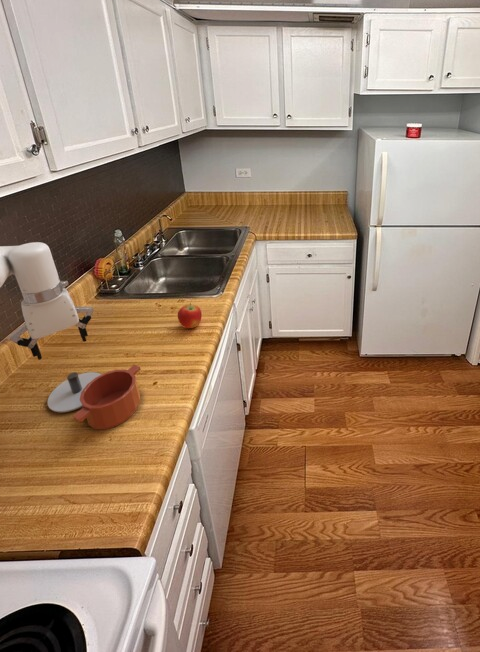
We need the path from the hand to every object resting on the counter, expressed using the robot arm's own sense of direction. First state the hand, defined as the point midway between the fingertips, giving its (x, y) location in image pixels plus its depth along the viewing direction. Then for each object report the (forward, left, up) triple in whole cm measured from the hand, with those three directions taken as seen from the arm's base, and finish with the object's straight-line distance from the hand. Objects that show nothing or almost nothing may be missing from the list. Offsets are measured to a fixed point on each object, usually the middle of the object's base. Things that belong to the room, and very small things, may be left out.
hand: (62, 347), depth 88 cm
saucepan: (+13, 0, -17) cm, 21 cm away
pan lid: (-1, 0, -16) cm, 17 cm away
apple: (+9, +36, -17) cm, 41 cm away
